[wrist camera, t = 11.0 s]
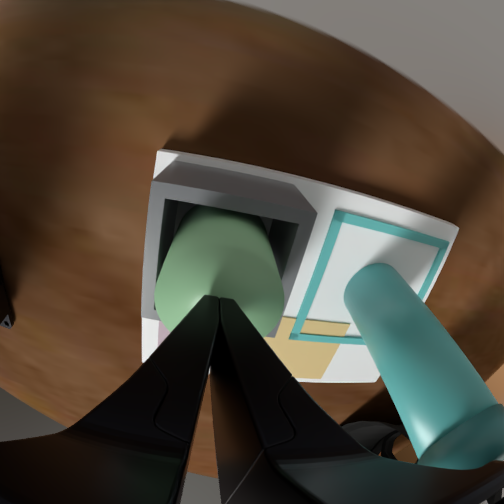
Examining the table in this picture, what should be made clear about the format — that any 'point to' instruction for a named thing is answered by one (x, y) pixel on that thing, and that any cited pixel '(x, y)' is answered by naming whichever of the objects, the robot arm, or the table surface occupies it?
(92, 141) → the table surface
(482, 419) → the teal round-topped cylinder
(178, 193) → the button housing
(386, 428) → the car wheel rim
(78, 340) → the table surface
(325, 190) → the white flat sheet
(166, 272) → the button
